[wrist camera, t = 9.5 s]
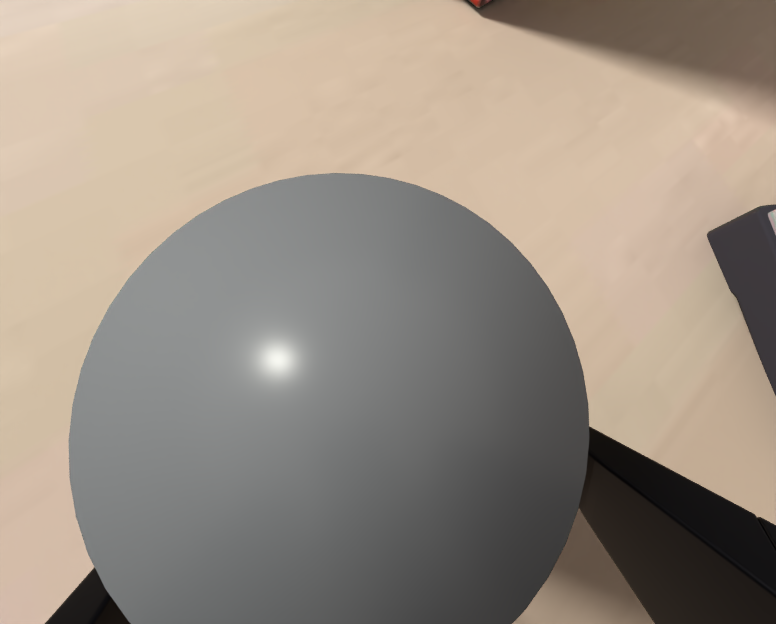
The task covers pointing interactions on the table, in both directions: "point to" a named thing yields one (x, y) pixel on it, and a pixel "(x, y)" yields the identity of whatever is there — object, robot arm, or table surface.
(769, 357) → the calculator
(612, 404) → the table surface
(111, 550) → the grey cylinder
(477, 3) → the snack box
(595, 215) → the table surface
